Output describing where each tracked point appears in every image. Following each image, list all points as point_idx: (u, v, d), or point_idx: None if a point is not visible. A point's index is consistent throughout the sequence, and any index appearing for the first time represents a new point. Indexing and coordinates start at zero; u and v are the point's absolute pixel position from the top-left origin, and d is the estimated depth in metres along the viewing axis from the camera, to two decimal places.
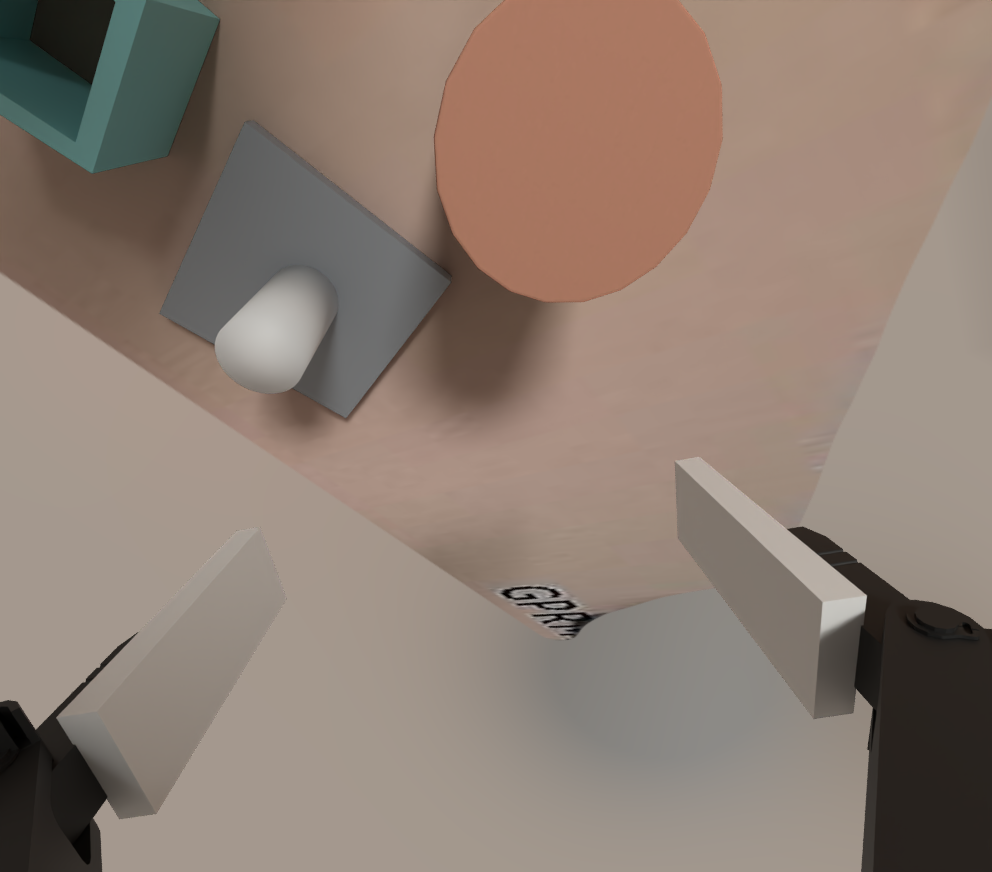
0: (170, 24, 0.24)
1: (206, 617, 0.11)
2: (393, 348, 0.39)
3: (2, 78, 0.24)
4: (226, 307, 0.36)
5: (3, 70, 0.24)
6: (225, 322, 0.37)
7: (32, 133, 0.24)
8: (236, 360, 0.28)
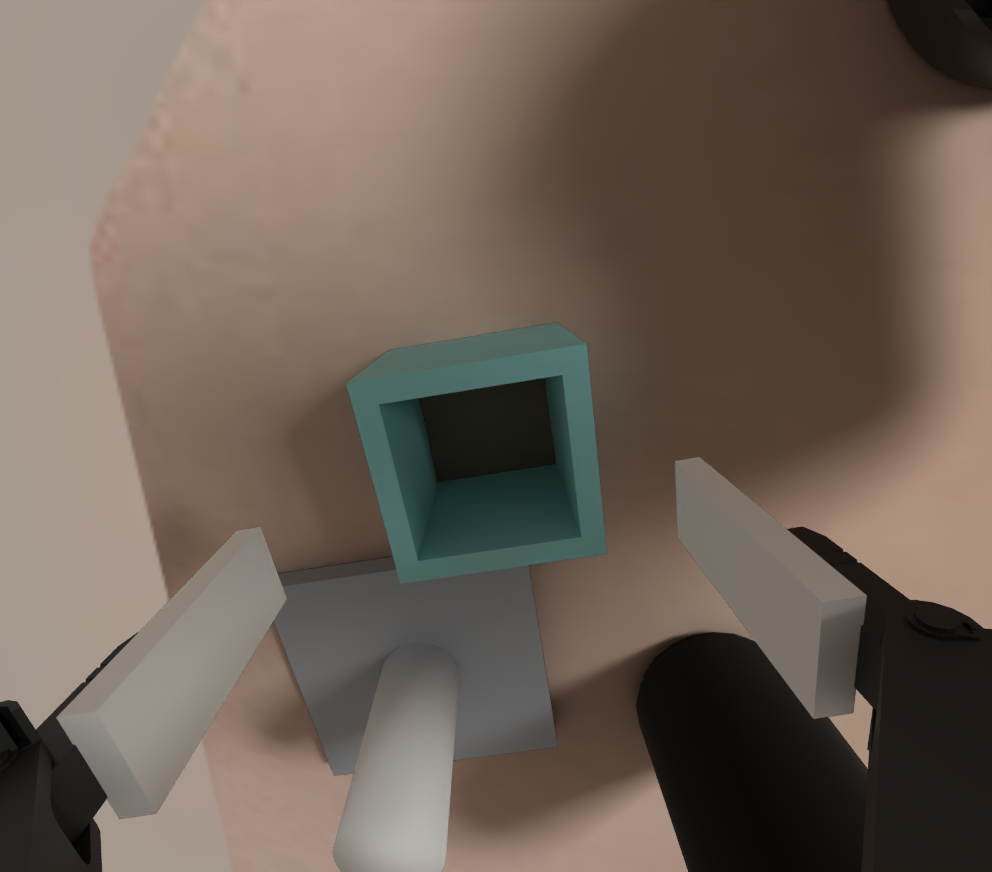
0: None
1: (206, 617, 0.11)
2: None
3: (403, 459, 0.20)
4: (336, 631, 0.29)
5: (403, 440, 0.21)
6: (319, 639, 0.29)
7: (386, 526, 0.20)
8: (361, 843, 0.21)
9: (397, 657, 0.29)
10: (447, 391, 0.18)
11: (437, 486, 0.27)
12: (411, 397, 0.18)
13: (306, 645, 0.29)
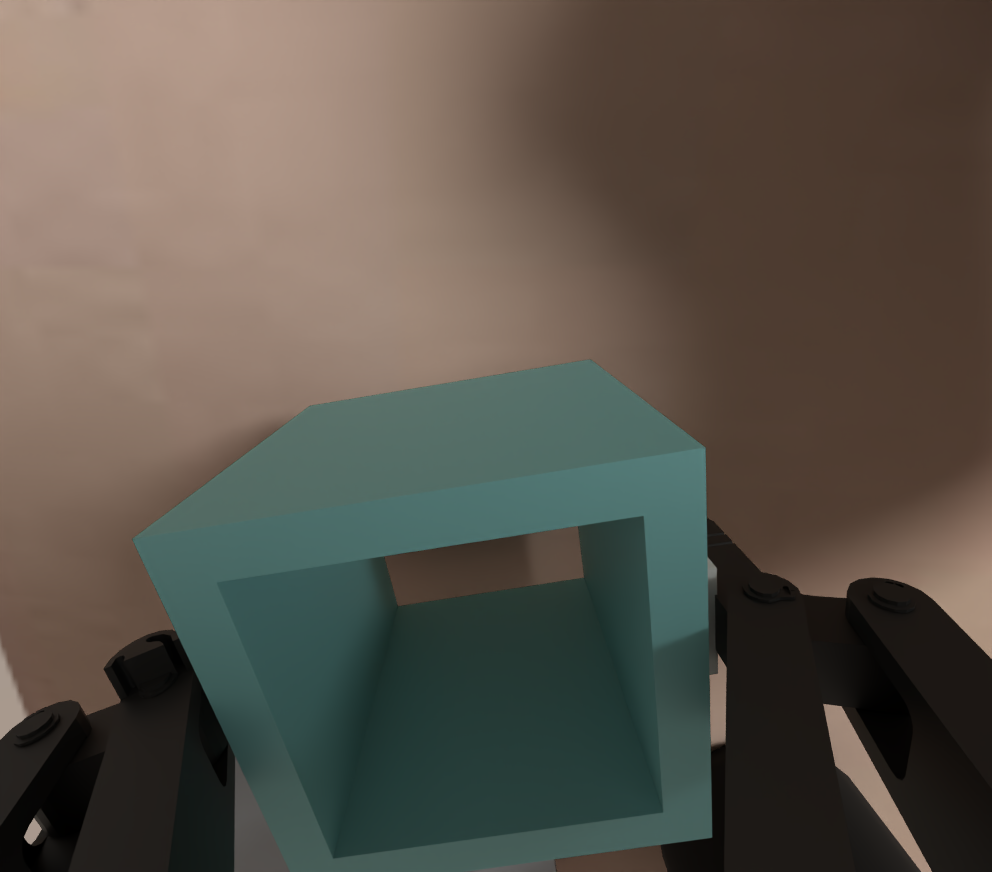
0: None
1: None
2: None
3: (302, 651, 0.10)
4: None
5: (310, 602, 0.11)
6: (238, 777, 0.22)
7: (263, 799, 0.10)
8: None
9: None
10: (375, 553, 0.08)
11: (396, 617, 0.17)
12: (291, 567, 0.08)
13: None
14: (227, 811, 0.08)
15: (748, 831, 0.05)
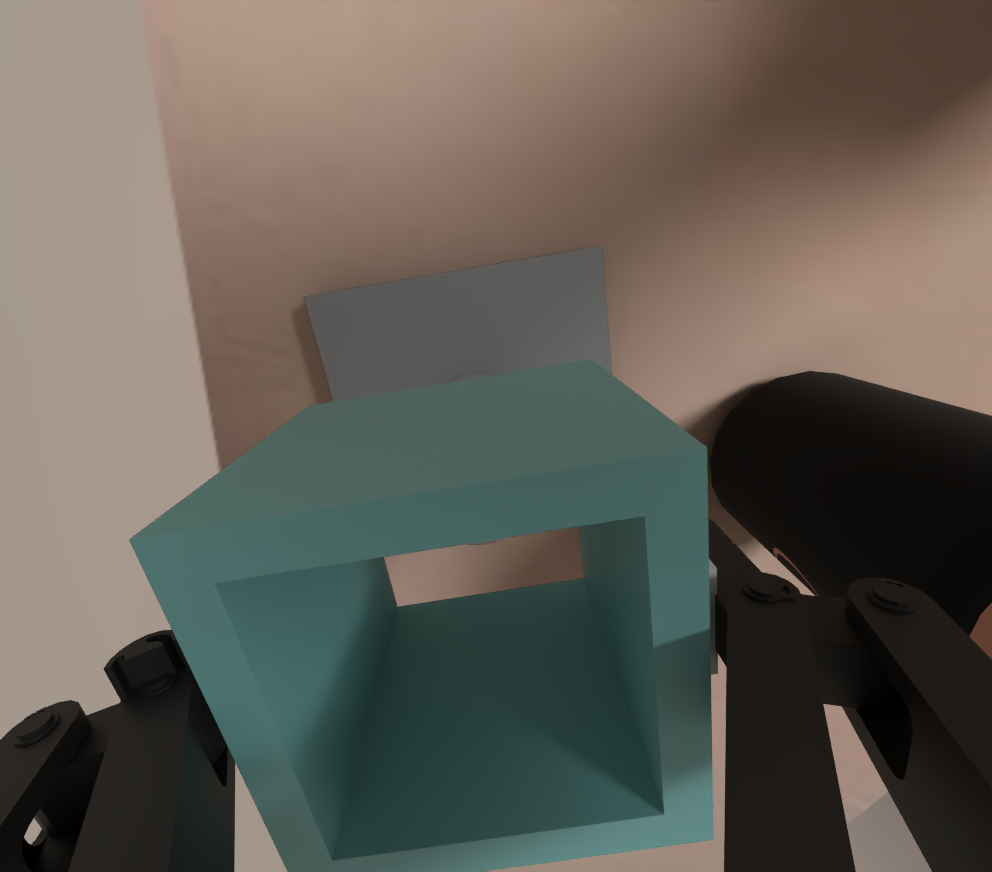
0: None
1: None
2: None
3: (301, 651, 0.10)
4: (386, 354, 0.26)
5: (308, 603, 0.11)
6: (366, 365, 0.26)
7: (262, 801, 0.09)
8: None
9: (454, 381, 0.26)
10: (374, 554, 0.07)
11: (396, 617, 0.17)
12: (290, 567, 0.08)
13: (351, 373, 0.26)
14: (227, 811, 0.08)
15: (748, 831, 0.05)
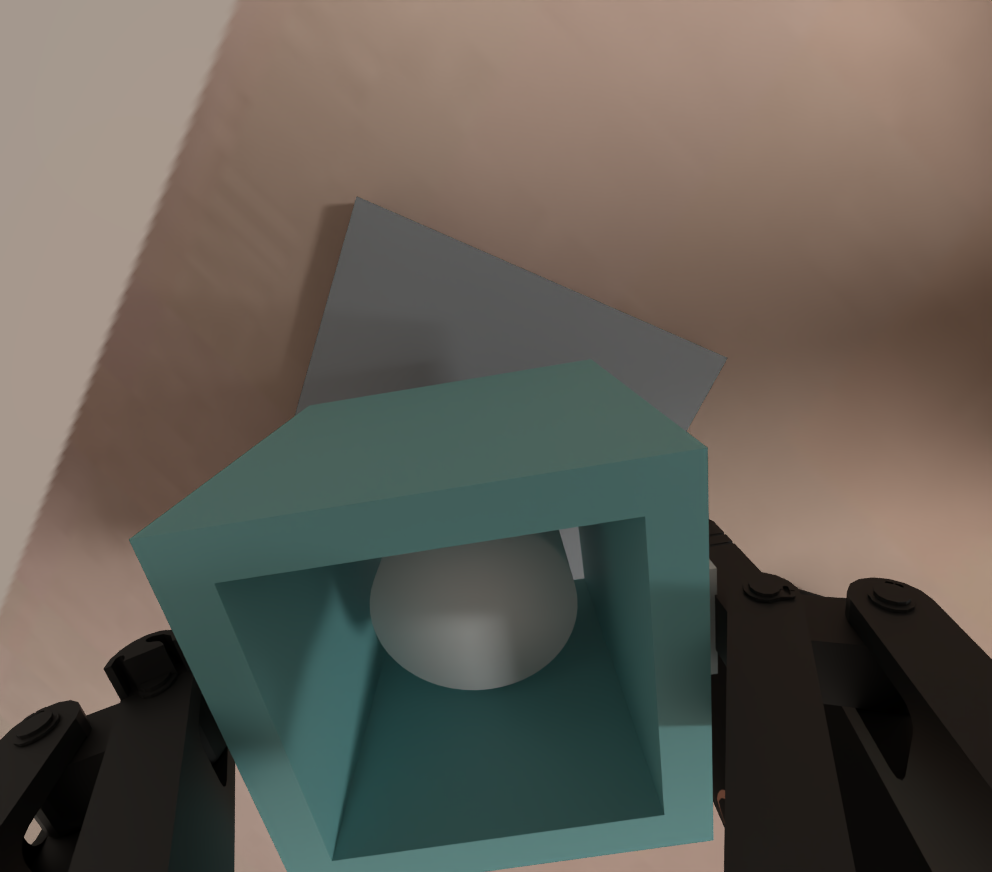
0: None
1: None
2: None
3: (301, 652, 0.10)
4: (416, 329, 0.19)
5: (308, 603, 0.11)
6: (383, 327, 0.19)
7: (261, 801, 0.09)
8: (449, 563, 0.11)
9: None
10: (374, 554, 0.07)
11: None
12: (290, 568, 0.08)
13: (358, 325, 0.19)
14: (227, 811, 0.08)
15: (748, 831, 0.05)
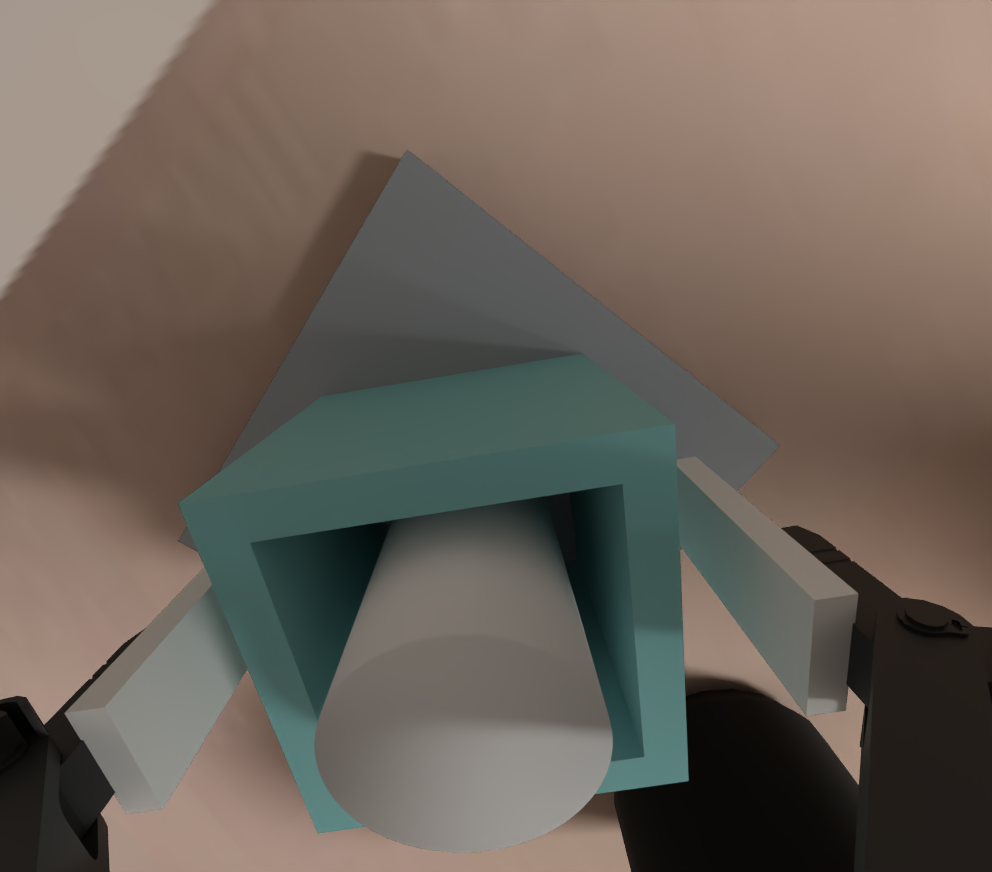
0: None
1: (211, 614, 0.12)
2: None
3: (320, 612, 0.11)
4: (439, 328, 0.15)
5: (325, 571, 0.12)
6: (400, 315, 0.15)
7: (285, 744, 0.11)
8: (449, 689, 0.07)
9: None
10: (388, 517, 0.09)
11: None
12: (315, 529, 0.09)
13: (369, 306, 0.15)
14: None
15: None
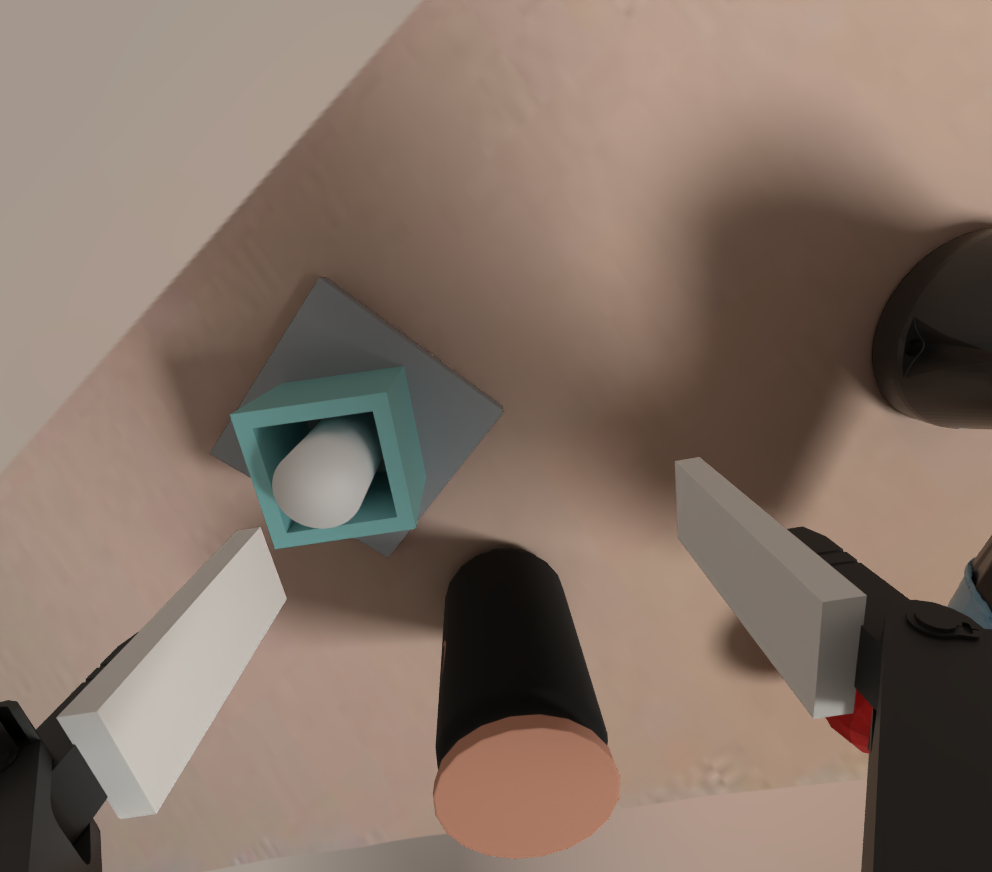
0: None
1: (206, 617, 0.11)
2: None
3: (276, 463, 0.29)
4: (336, 353, 0.34)
5: (279, 451, 0.30)
6: (318, 347, 0.34)
7: (263, 509, 0.29)
8: (311, 466, 0.26)
9: None
10: (298, 420, 0.27)
11: None
12: (274, 424, 0.27)
13: (304, 342, 0.33)
14: None
15: None
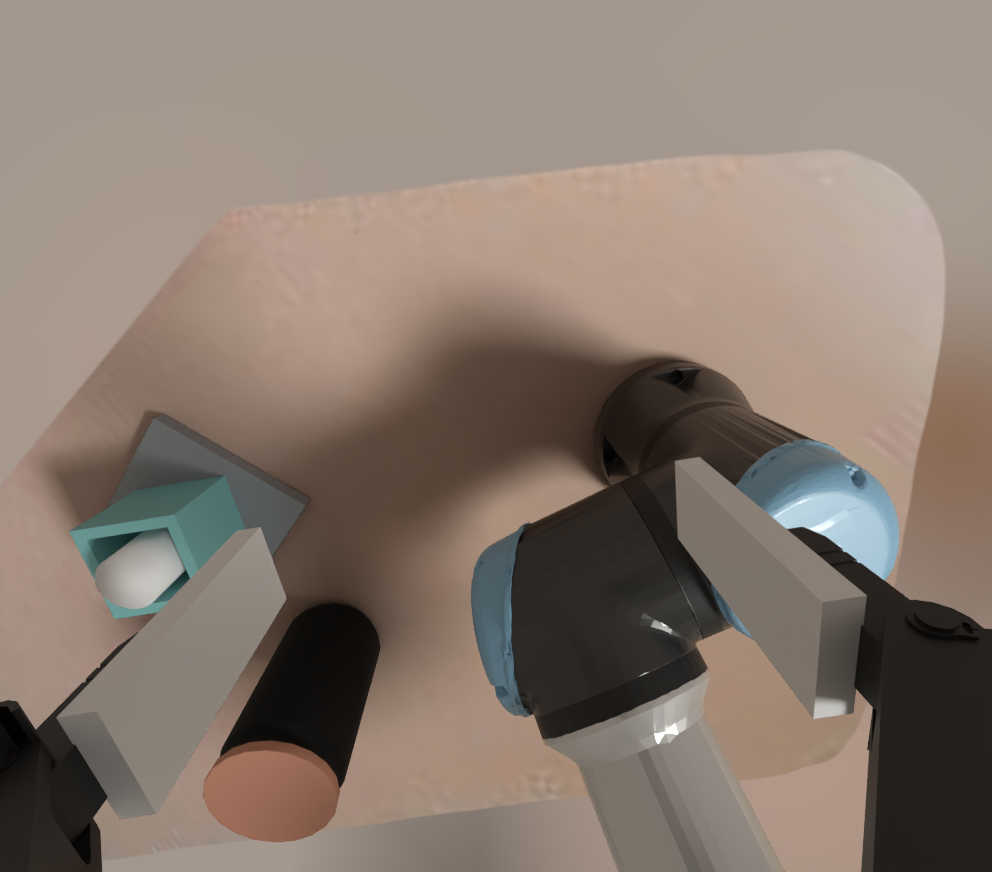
0: None
1: (206, 617, 0.11)
2: None
3: None
4: (173, 468, 0.46)
5: (119, 548, 0.42)
6: (159, 464, 0.46)
7: None
8: (119, 568, 0.38)
9: None
10: (116, 534, 0.39)
11: None
12: (100, 537, 0.39)
13: (148, 462, 0.46)
14: None
15: None
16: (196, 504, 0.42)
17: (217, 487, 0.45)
